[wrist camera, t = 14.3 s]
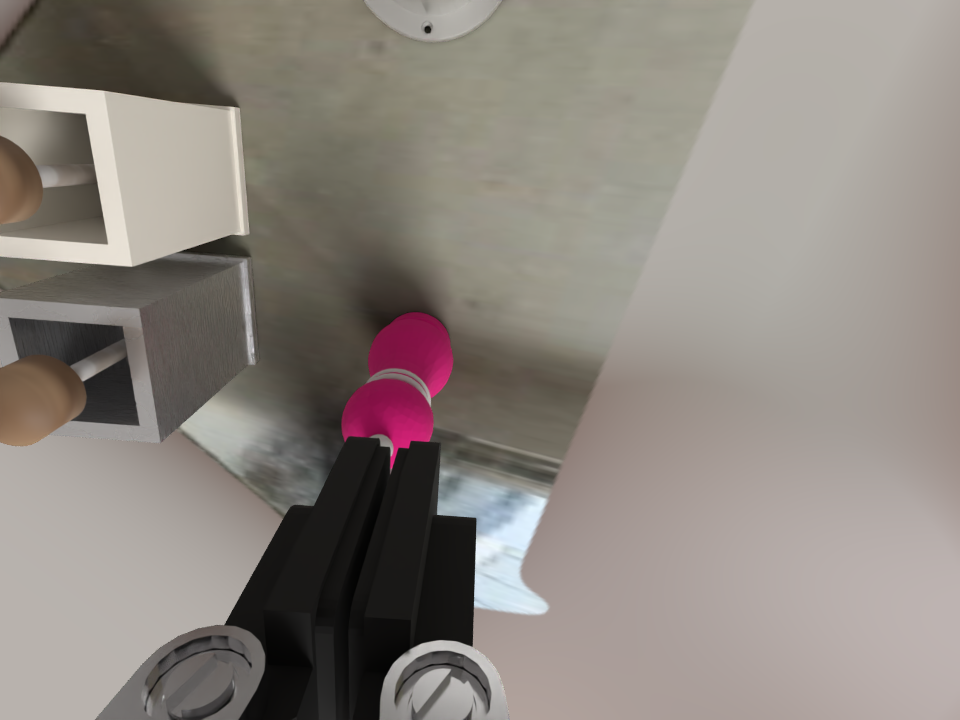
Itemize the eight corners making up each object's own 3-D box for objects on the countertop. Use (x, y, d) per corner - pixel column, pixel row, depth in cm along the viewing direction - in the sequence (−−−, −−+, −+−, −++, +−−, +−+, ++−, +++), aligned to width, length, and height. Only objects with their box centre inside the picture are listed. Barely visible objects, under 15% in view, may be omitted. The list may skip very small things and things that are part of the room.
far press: (123, 246, 47) (-45, 290, 32) (251, 256, 48) (143, 304, 33) (140, 352, 51) (-4, 434, 36) (259, 361, 51) (165, 447, 36)
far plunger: (152, 275, 46) (-64, 356, 28) (222, 281, 47) (50, 364, 28) (162, 340, 49) (-34, 454, 30) (228, 345, 49) (73, 462, 31)
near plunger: (130, 125, 42) (-143, 106, 24) (207, 132, 42) (-7, 117, 24) (142, 204, 44) (-100, 241, 26) (214, 210, 44) (24, 251, 26)
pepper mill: (366, 357, 51) (296, 476, 32) (399, 292, 49) (343, 380, 30) (434, 391, 52) (404, 524, 33) (469, 329, 50) (458, 435, 31)
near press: (98, 96, 43) (-109, 66, 28) (239, 107, 43) (108, 84, 28) (119, 223, 47) (-54, 257, 32) (249, 233, 47) (138, 272, 32)
